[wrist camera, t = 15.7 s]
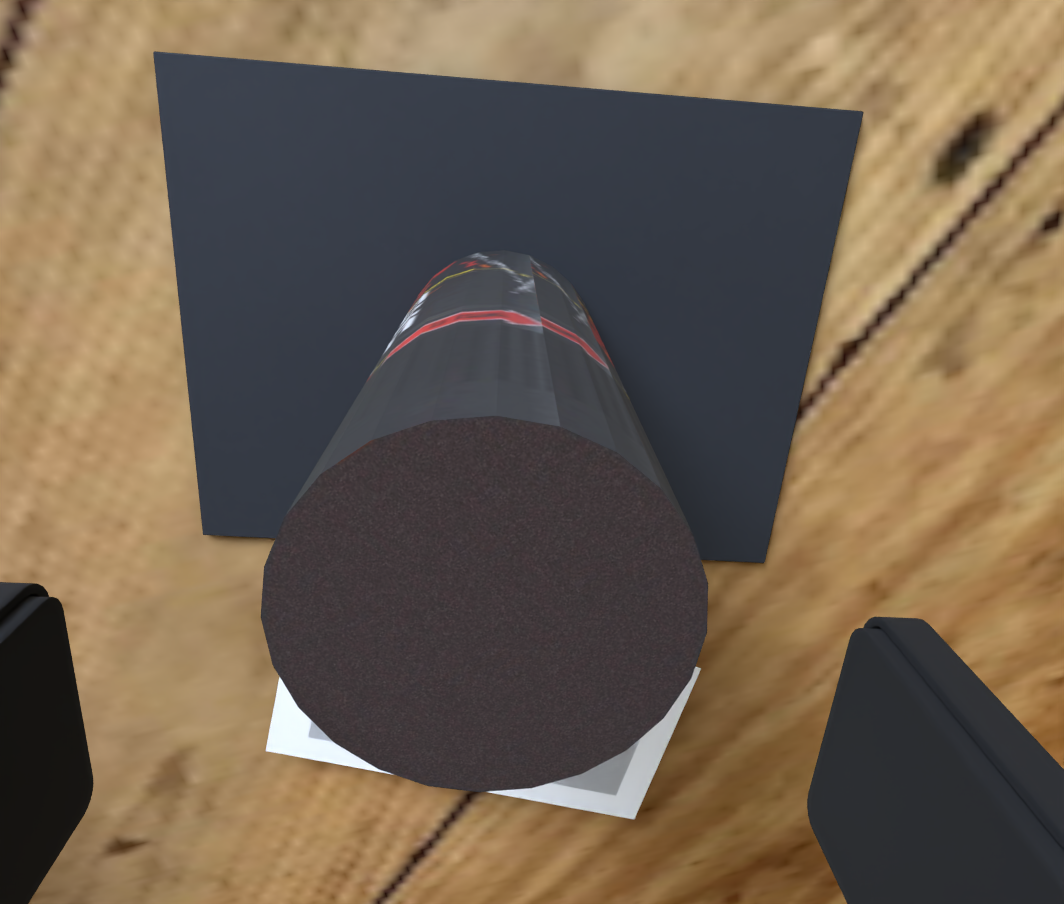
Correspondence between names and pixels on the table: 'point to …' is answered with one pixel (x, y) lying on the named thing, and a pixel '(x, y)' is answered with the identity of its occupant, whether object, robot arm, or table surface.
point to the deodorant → (487, 548)
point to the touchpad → (596, 790)
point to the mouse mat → (492, 225)
